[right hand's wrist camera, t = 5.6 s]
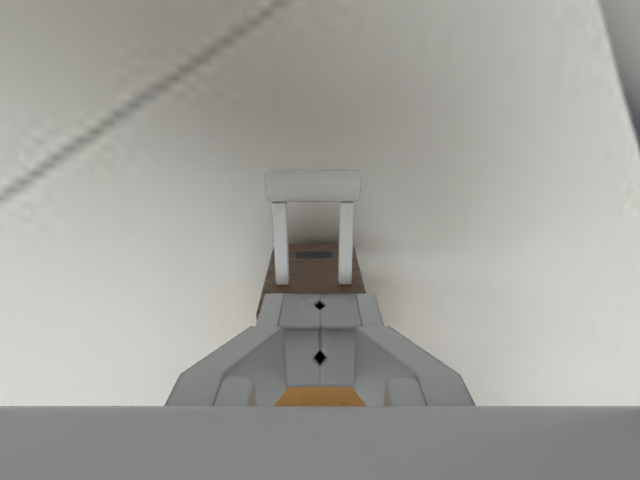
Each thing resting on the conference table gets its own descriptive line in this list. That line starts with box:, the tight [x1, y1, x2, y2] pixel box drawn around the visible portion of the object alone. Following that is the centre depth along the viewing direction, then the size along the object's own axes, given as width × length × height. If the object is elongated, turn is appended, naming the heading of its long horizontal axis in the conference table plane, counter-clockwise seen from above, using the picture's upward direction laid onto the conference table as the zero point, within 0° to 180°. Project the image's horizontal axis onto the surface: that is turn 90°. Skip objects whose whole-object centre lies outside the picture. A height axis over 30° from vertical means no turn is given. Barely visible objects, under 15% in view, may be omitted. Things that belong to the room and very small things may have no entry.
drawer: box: [256, 170, 366, 321], centre depth 20 cm, size 22×5×7 cm, turn 0°
